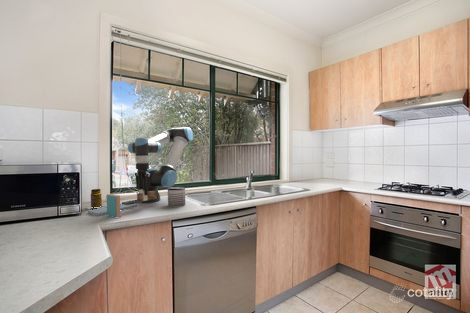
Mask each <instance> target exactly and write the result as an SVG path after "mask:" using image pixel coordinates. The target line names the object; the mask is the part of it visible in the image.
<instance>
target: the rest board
mask: <svg viewBox="0 0 470 313" xmlns="http://www.w3.org/2000/svg"><path fill="white" fill-rule="evenodd" d="M134 207H135V208H138V203H136V204H131V205H124V204H122V202H120V210H122V211H125V210H124V209H127V210H130V209H129V208H131V209H134ZM89 213H90V214H89ZM87 214H89V215H93V214H94V215H93V216H96V215H97V217H101V216H104V215H103V214H106V215H107V206H105V207H101V208H97V209H93V210H92V209H87ZM100 215H101V216H100Z"/></svg>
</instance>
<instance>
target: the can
mask: <svg viewBox="0 0 470 313" xmlns="http://www.w3.org/2000/svg"><path fill="white" fill-rule="evenodd" d="M167 204H168V205H167V206H168V207H169V208H181V207H184V206H186V188H185V187H181V186H180V187H179V186H176V187H175V186H171V187H168V188H167Z"/></svg>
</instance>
